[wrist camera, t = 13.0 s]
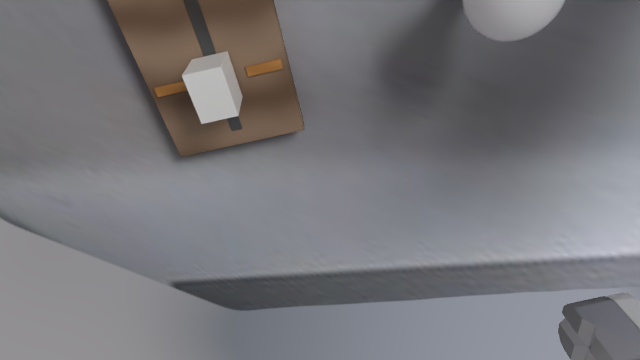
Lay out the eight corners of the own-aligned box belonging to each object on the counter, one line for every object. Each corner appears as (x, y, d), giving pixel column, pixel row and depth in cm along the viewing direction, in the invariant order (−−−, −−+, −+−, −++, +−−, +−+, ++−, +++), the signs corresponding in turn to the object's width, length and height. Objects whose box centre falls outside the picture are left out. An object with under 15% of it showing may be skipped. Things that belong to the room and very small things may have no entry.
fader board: (32, -190, 25) (12, -198, 23) (214, -238, 24) (209, -250, 23) (185, 146, 39) (180, 158, 37) (303, 120, 38) (304, 130, 37)
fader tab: (191, 59, 32) (181, 75, 29) (227, 51, 32) (221, 66, 29) (209, 104, 34) (201, 124, 31) (242, 96, 34) (238, 115, 31)
